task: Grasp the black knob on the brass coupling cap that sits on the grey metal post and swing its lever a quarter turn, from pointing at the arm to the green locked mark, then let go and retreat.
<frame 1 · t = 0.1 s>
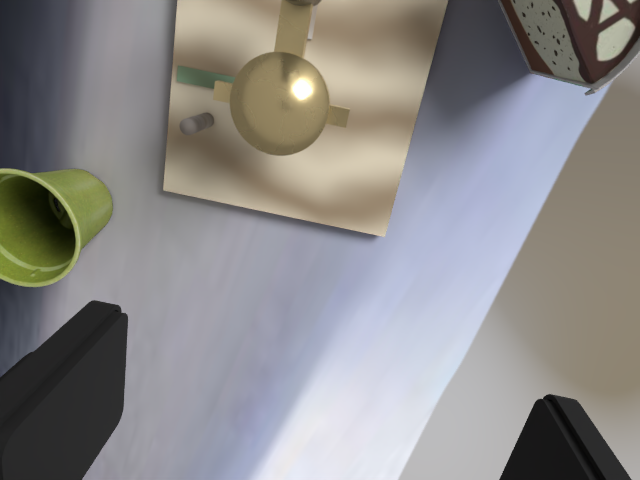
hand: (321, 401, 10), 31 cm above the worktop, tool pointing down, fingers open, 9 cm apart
plant pot: (82, 199, 43), on the worktop
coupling: (284, 56, 27), point 10 cm above the worktop, hinge at 0.0°
post base: (295, 96, 38), on the worktop
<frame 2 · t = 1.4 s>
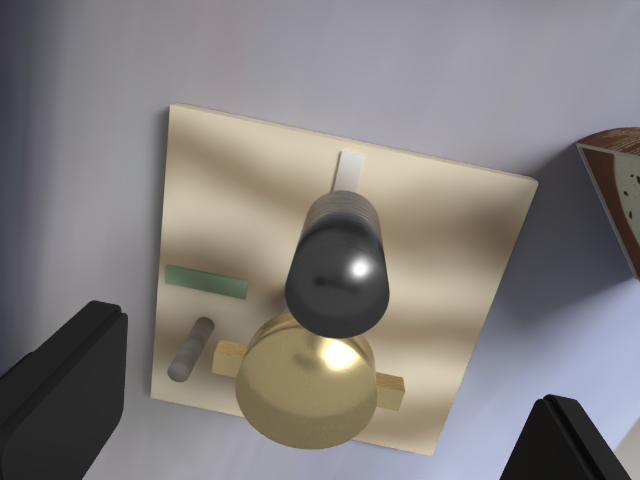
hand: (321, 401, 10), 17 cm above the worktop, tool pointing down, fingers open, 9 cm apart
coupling: (316, 355, 18), point 10 cm above the worktop, hinge at 0.0°
post base: (320, 295, 29), on the worktop
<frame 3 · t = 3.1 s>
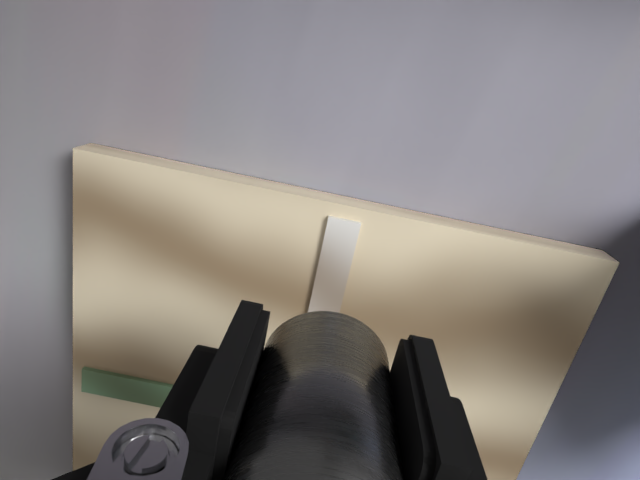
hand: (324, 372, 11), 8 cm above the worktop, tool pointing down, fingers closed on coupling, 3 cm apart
post base: (301, 402, 21), on the worktop
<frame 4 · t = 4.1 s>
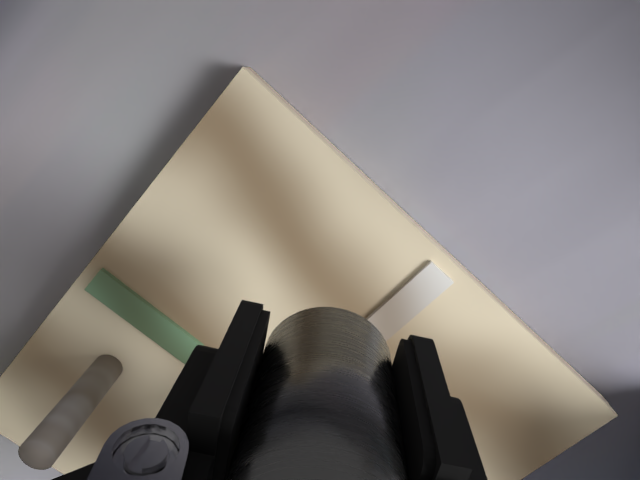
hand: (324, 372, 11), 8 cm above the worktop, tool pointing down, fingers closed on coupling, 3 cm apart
post base: (281, 396, 21), on the worktop
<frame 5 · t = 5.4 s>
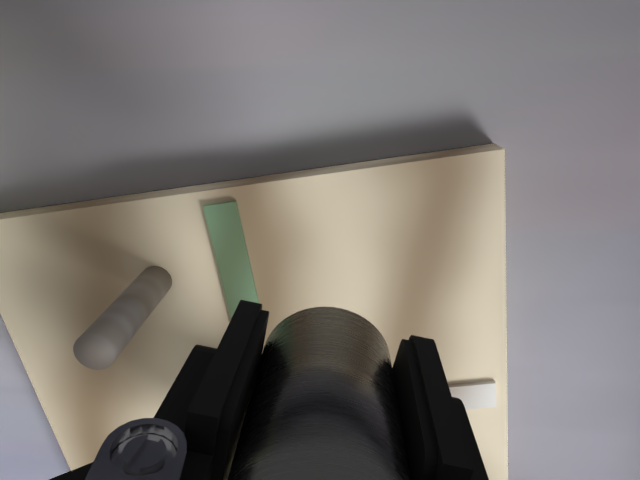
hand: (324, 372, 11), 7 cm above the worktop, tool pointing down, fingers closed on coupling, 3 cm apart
post base: (273, 393, 21), on the worktop
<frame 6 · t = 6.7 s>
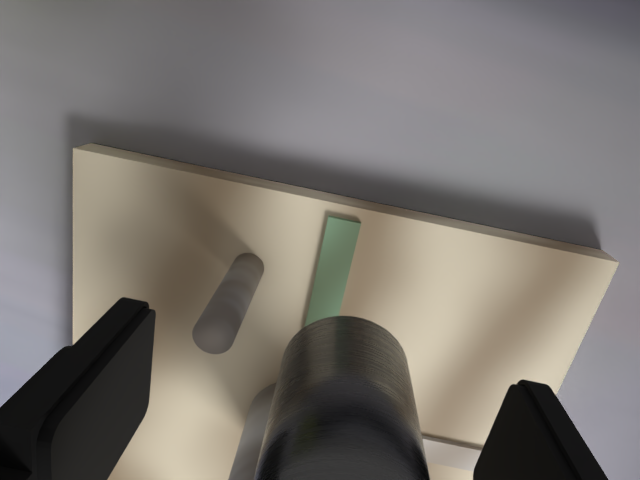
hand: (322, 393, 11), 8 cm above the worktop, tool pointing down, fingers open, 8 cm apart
post base: (301, 402, 21), on the worktop
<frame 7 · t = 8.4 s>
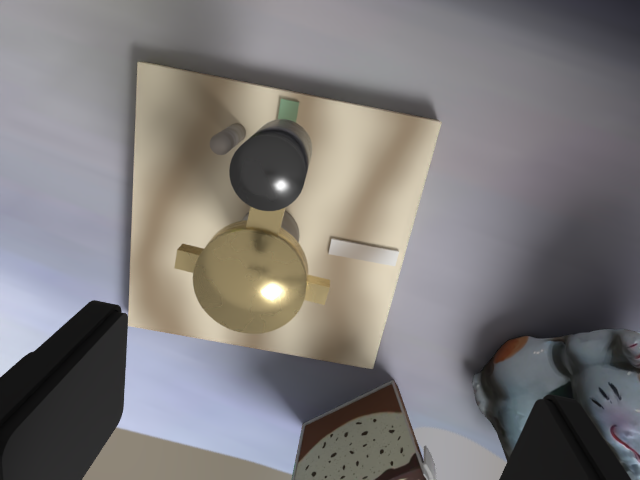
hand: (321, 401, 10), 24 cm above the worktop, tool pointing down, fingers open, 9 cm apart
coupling: (257, 244, 24), point 10 cm above the worktop, hinge at 86.1°
lucky cat figurine: (556, 374, 38), on the worktop
food container: (364, 423, 41), on the worktop
post base: (271, 228, 34), on the worktop
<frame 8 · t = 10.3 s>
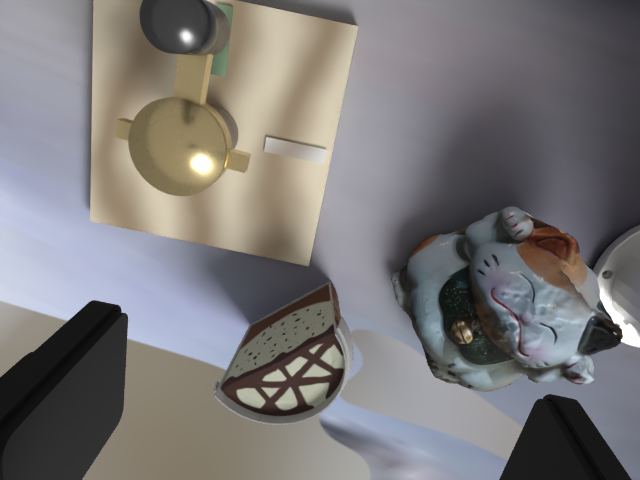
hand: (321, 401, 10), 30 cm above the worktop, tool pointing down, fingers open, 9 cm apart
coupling: (177, 104, 28), point 10 cm above the worktop, hinge at 86.1°
lucky cat figurine: (472, 276, 42), on the worktop
food container: (306, 325, 45), on the worktop
post base: (215, 130, 38), on the worktop
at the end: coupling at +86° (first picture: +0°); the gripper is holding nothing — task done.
